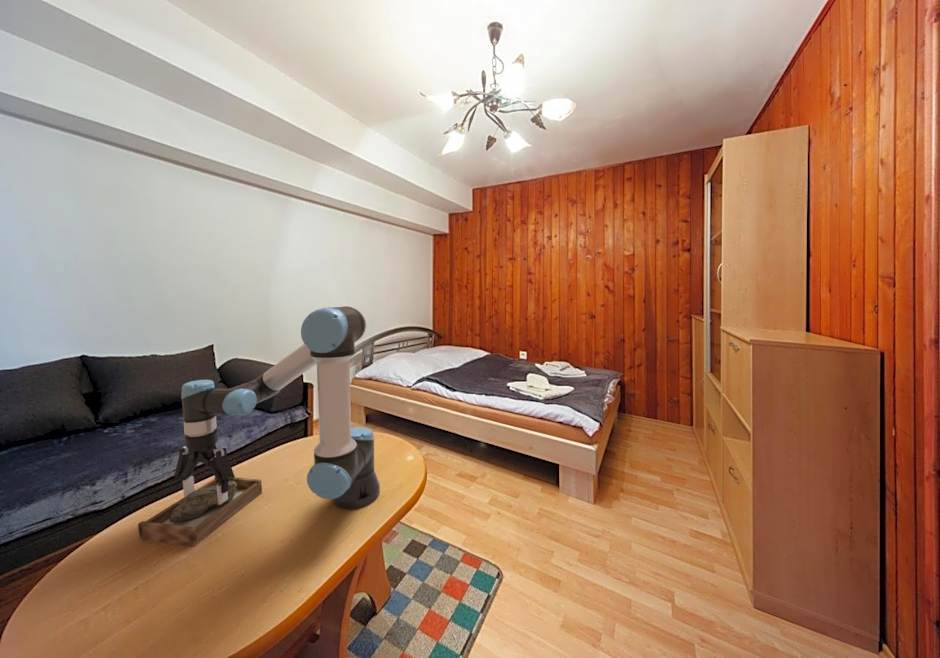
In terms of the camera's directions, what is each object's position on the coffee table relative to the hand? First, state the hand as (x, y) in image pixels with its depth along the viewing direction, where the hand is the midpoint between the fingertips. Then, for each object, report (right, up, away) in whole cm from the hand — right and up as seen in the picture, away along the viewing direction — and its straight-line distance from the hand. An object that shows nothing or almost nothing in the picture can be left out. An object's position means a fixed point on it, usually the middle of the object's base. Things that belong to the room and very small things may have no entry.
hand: (206, 500), depth 99 cm
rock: (0, -3, 0) cm, 3 cm away
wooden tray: (0, -4, 0) cm, 4 cm away
